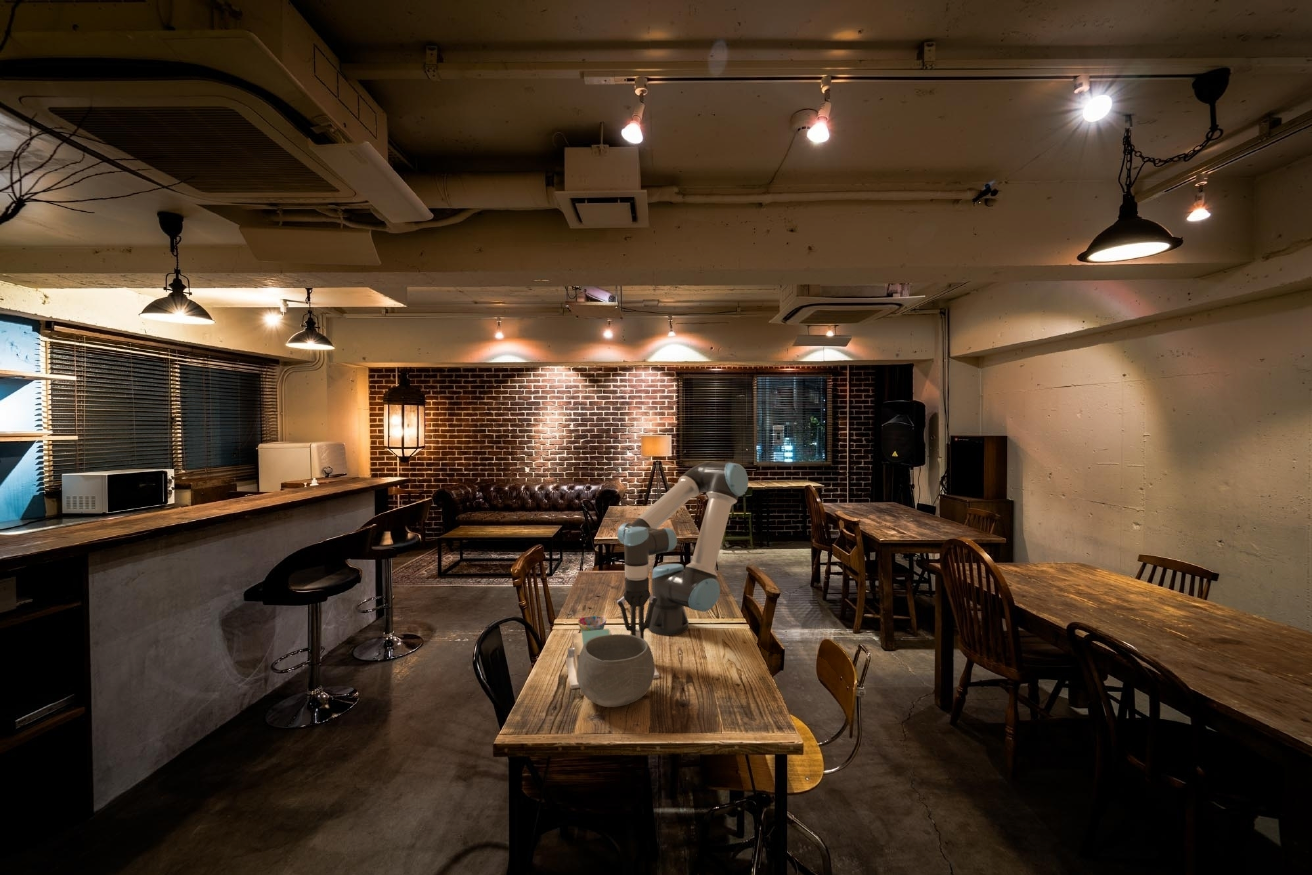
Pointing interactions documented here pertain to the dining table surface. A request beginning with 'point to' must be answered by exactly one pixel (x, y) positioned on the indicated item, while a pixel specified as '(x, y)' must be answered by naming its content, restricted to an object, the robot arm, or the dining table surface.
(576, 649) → the block
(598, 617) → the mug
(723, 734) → the dining table surface
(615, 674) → the bowl
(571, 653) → the pin
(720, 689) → the dining table surface
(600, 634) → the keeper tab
